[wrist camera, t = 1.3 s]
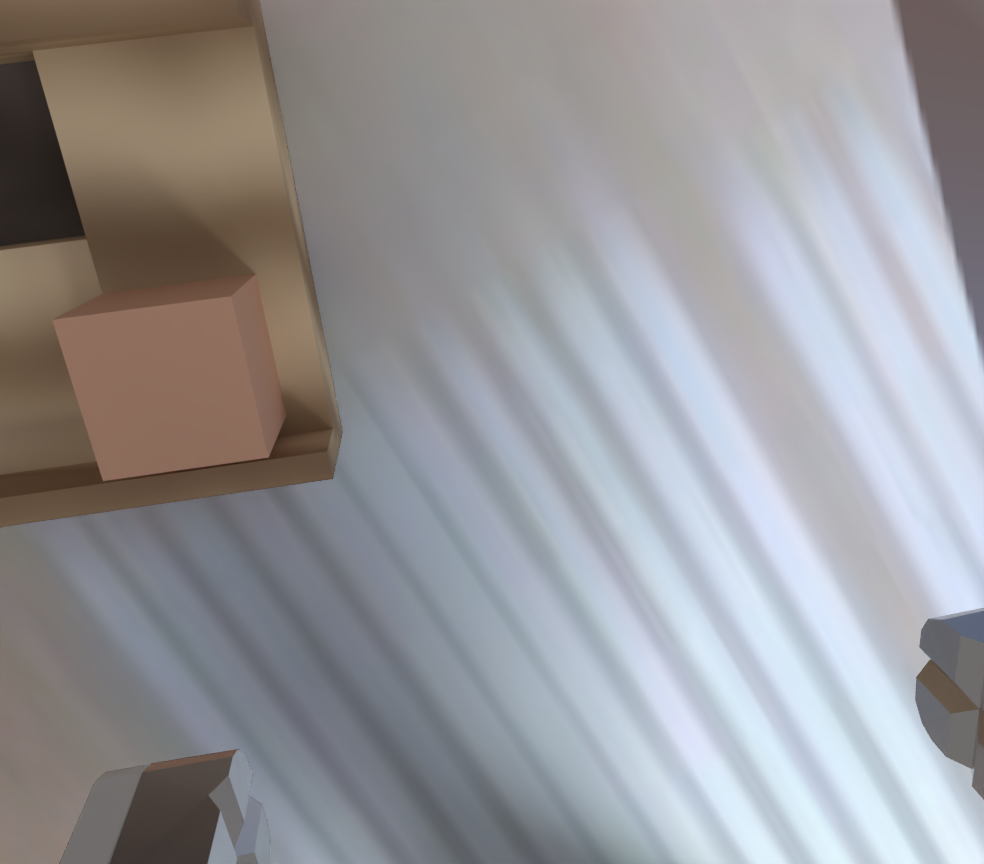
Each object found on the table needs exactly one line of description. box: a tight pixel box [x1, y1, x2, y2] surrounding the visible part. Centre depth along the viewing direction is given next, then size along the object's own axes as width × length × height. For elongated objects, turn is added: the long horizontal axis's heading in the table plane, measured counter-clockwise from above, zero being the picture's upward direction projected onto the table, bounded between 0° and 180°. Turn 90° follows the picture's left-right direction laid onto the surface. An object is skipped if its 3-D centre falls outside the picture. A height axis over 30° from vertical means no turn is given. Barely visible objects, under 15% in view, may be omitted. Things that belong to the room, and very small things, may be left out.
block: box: [52, 274, 286, 481], centre depth 25 cm, size 5×5×4 cm
